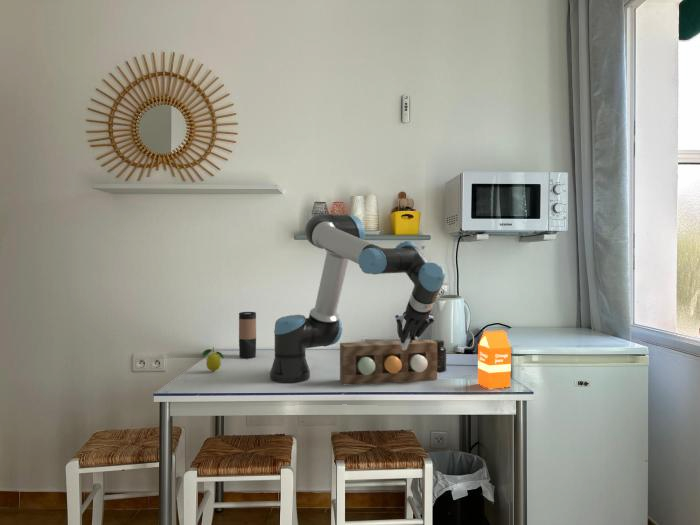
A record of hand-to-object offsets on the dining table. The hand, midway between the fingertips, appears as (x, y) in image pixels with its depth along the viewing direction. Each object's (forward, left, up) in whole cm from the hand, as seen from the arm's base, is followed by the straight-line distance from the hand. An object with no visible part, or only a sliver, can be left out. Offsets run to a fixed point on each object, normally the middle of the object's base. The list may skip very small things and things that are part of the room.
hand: (403, 346), depth 177 cm
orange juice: (+35, +1, -16) cm, 38 cm away
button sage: (-10, +12, -12) cm, 19 cm away
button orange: (0, +12, -12) cm, 17 cm away
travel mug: (-51, +67, -16) cm, 86 cm away
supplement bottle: (+24, +27, -16) cm, 40 cm away
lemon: (-65, +42, -16) cm, 79 cm away
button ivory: (+10, +12, -12) cm, 19 cm away
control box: (0, +17, -16) cm, 23 cm away
